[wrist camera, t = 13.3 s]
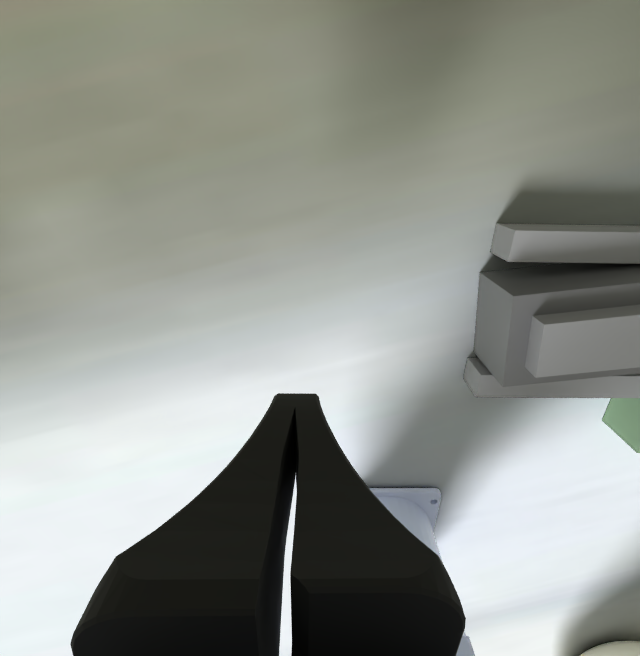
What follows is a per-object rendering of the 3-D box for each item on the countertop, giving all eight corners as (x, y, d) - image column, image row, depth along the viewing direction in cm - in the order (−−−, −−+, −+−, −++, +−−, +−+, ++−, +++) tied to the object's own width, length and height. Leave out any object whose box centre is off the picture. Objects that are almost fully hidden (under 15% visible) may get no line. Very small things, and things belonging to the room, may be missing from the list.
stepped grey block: (621, 334, 22) (699, 380, 18) (472, 350, 23) (511, 398, 18) (643, 253, 20) (737, 281, 16) (478, 271, 21) (524, 304, 16)
